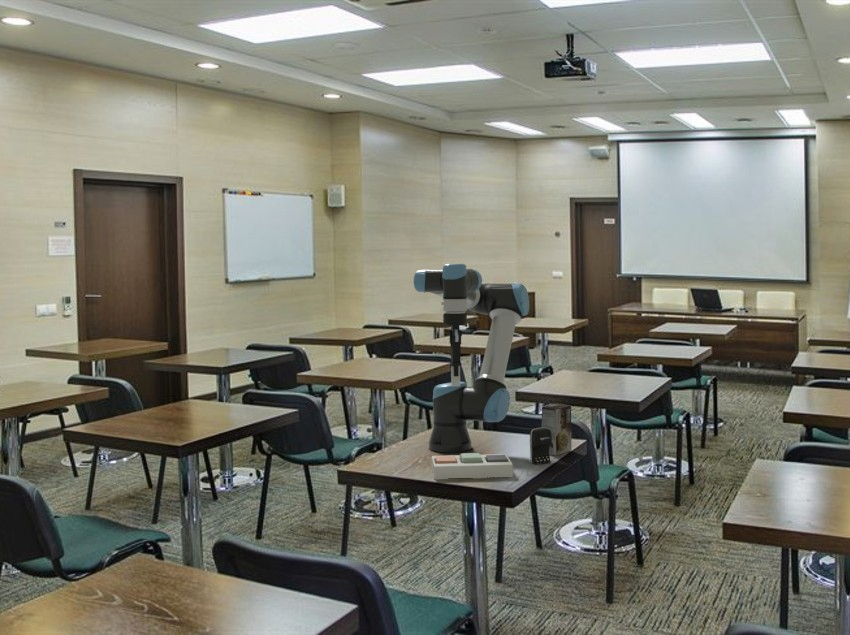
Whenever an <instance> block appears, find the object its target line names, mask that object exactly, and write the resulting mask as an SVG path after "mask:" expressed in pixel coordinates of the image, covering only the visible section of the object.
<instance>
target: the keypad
mask: <svg viewBox="0 0 850 635" xmlns="http://www.w3.org/2000/svg"><path fill="white" fill-rule="evenodd" d="M480 455H481V457H482V463H461V454H459V455H458V454H457V455H456V454H455V455H454V454H450V455H445V456H455V459H456V463H445V464H436V456H437V455H432V456H431V470H432V475H433V478H434V479H435V480H449V479H448V478H473V479H490V478H489V477H511V478H514V471H513V470H514V468H513V467H514V466H513V465H514V464H513V462H512V461H511V460H510V458H509V456H508V454H507V453H495V454H493V453H492V454H480ZM486 455H505V456H506V457H507V459H508V462H486ZM487 477H488V478H487Z"/></svg>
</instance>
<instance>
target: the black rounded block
mask: <svg viewBox="0 0 850 635" xmlns="http://www.w3.org/2000/svg"><path fill="white" fill-rule="evenodd" d="M550 444H552V433H551V430H550V429H547V428H544V427H543V428H542V427H536V428H533V429H532V430H530V433H529V449H530V450H529V452H530V453H529V454H530V459H529V460H530V461H529V462H530V463H531V464H533V465H542V464H548V463H550V462H551V457H550V454H549V446H550Z"/></svg>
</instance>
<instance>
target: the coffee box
mask: <svg viewBox="0 0 850 635" xmlns="http://www.w3.org/2000/svg"><path fill="white" fill-rule="evenodd" d="M543 427H544V428H547V429H550V430H551V433H552V444H550V446H549V455H551V456H559V455H562V454H566V453H569V452H571V451H572V450H573V449H572V405H569V404H564V403H558V402H557V403H553V404H549V405H548V404H547V405H544V406H541V428H543Z"/></svg>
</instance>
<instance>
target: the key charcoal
mask: <svg viewBox="0 0 850 635" xmlns="http://www.w3.org/2000/svg"><path fill="white" fill-rule="evenodd" d="M485 455H486V454H485ZM486 462H508V459H507V457H506V456H505V455H486Z"/></svg>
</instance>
